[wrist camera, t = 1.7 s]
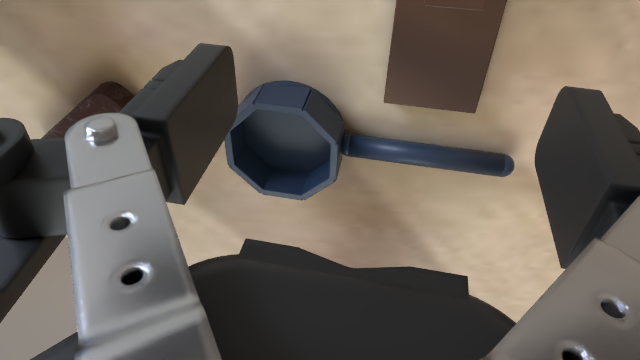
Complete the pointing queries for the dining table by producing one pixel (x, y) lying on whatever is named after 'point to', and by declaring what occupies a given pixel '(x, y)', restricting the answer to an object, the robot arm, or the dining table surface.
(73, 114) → the ice cream bar
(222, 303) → the robot arm
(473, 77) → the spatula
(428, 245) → the dining table surface
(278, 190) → the scoop
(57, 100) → the dining table surface
